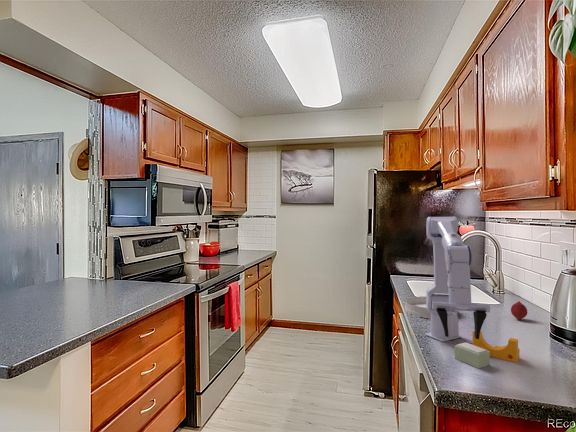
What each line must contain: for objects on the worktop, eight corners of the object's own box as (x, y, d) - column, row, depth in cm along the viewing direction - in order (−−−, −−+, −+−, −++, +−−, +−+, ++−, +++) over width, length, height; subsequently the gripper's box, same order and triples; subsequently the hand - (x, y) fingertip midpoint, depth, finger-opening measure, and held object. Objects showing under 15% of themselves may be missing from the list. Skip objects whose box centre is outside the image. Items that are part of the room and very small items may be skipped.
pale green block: (465, 355, 110) (465, 341, 110) (489, 365, 102) (489, 350, 102) (454, 358, 107) (454, 344, 107) (478, 368, 100) (478, 353, 100)
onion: (530, 322, 141) (530, 302, 141) (514, 321, 143) (514, 302, 143) (523, 318, 147) (523, 299, 147) (508, 317, 148) (508, 298, 148)
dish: (416, 321, 146) (416, 309, 146) (397, 307, 168) (397, 296, 168) (467, 320, 147) (467, 308, 147) (442, 306, 169) (442, 295, 169)
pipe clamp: (519, 358, 107) (519, 337, 107) (516, 363, 104) (515, 341, 104) (477, 348, 115) (476, 329, 115) (472, 352, 112) (472, 332, 112)
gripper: (433, 287, 97) (435, 337, 95) (491, 289, 93) (494, 342, 91) (431, 286, 104) (432, 333, 102) (485, 288, 99) (488, 337, 97)
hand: (461, 337), depth 97 cm, fingers open, 7 cm apart
